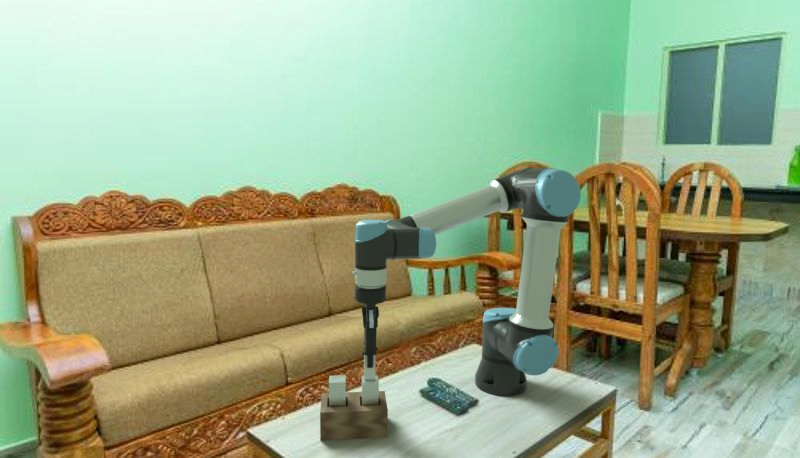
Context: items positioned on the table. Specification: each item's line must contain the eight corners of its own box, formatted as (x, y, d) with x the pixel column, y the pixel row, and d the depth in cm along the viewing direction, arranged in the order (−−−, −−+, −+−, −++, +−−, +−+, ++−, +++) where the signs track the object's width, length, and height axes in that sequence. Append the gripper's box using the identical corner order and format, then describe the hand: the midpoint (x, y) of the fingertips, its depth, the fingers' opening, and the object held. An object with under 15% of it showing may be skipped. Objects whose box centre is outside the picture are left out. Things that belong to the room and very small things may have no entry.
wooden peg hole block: (384, 416, 135) (384, 391, 134) (387, 437, 125) (387, 410, 124) (322, 418, 133) (321, 393, 132) (320, 440, 123) (320, 412, 122)
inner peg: (377, 398, 131) (377, 375, 130) (378, 406, 127) (378, 382, 126) (361, 399, 130) (361, 375, 129) (362, 406, 126) (362, 382, 125)
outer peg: (345, 398, 130) (345, 375, 129) (345, 406, 126) (345, 382, 125) (329, 399, 129) (329, 375, 129) (329, 407, 126) (328, 382, 125)
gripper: (354, 278, 130) (353, 367, 134) (355, 292, 117) (354, 390, 121) (384, 278, 131) (382, 366, 134) (388, 291, 118) (386, 389, 122)
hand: (369, 378), depth 128 cm, fingers closed
